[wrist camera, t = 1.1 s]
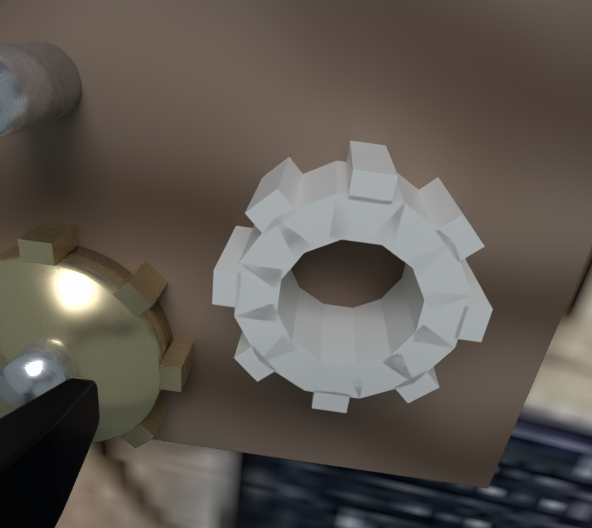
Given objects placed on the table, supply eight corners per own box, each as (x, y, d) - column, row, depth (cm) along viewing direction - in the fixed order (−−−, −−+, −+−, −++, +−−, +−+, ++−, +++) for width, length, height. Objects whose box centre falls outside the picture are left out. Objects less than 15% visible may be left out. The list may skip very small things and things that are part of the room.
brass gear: (190, 441, 19) (167, 506, 16) (-25, 409, 19) (-82, 469, 17) (196, 241, 15) (167, 286, 13) (-74, 203, 15) (-157, 239, 13)
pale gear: (432, 362, 17) (451, 428, 14) (228, 333, 17) (207, 393, 14) (494, 160, 13) (533, 194, 11) (242, 126, 14) (219, 151, 11)
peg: (84, 122, 14) (-4, 156, 10) (15, 113, 14) (-97, 143, 10) (78, 46, 13) (-20, 53, 9) (5, 36, 13) (-123, 40, 9)
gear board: (477, 457, 20) (487, 488, 19) (-17, 385, 21) (-41, 410, 19) (681, -51, 12) (723, -61, 11) (-135, -156, 13) (-191, -177, 11)
